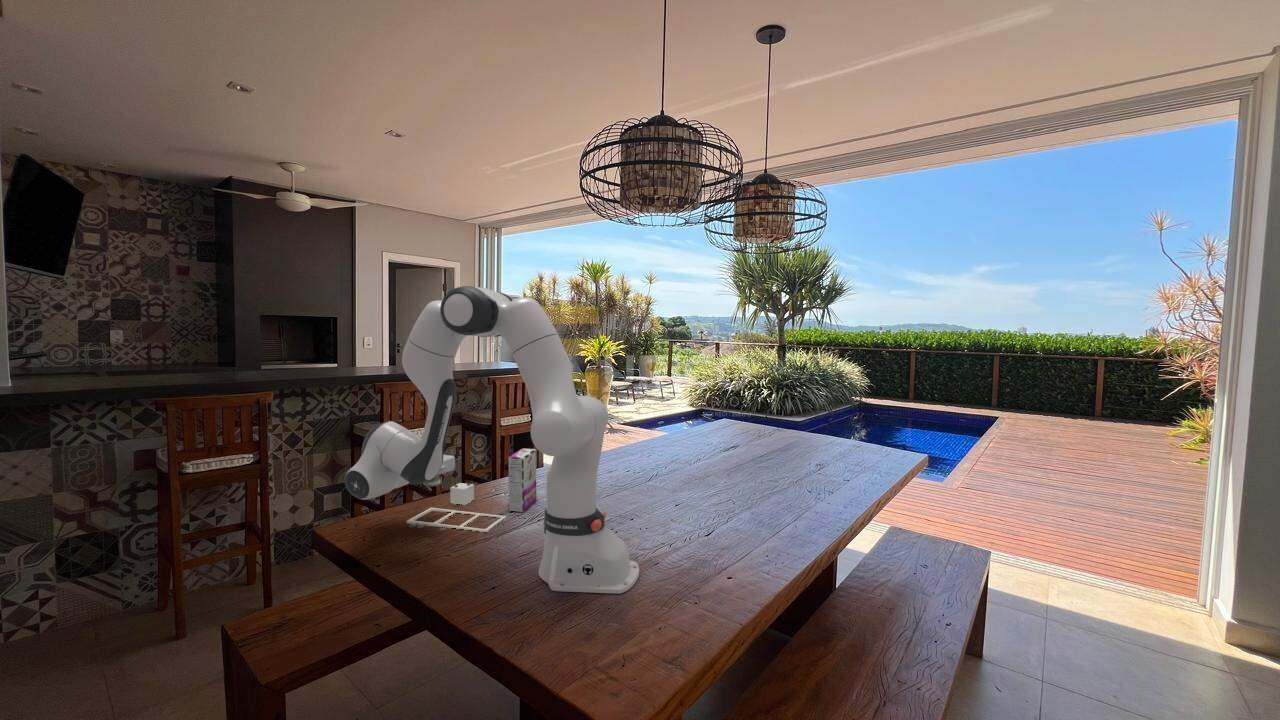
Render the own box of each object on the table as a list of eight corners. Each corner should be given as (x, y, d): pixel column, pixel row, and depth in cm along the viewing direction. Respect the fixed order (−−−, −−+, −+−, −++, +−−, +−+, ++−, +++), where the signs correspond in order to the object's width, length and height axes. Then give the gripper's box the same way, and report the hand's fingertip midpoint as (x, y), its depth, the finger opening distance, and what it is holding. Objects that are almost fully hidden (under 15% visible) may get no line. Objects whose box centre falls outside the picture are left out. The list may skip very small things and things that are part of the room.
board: (506, 518, 153) (506, 516, 153) (481, 536, 140) (481, 534, 140) (431, 509, 159) (431, 507, 159) (400, 526, 146) (400, 524, 146)
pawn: (443, 482, 153) (443, 435, 152) (434, 487, 149) (434, 438, 148) (430, 481, 154) (429, 434, 153) (420, 485, 150) (420, 437, 149)
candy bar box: (521, 499, 169) (521, 447, 168) (536, 500, 168) (537, 448, 167) (507, 511, 158) (507, 456, 157) (523, 513, 157) (523, 457, 156)
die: (474, 500, 168) (474, 482, 167) (465, 505, 163) (465, 487, 162) (459, 498, 169) (459, 481, 168) (450, 503, 164) (450, 485, 164)
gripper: (437, 458, 136) (467, 446, 149) (367, 452, 141) (402, 441, 154) (437, 483, 136) (467, 469, 150) (367, 476, 141) (402, 463, 154)
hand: (434, 455), depth 152 cm, fingers closed on pawn, 4 cm apart
